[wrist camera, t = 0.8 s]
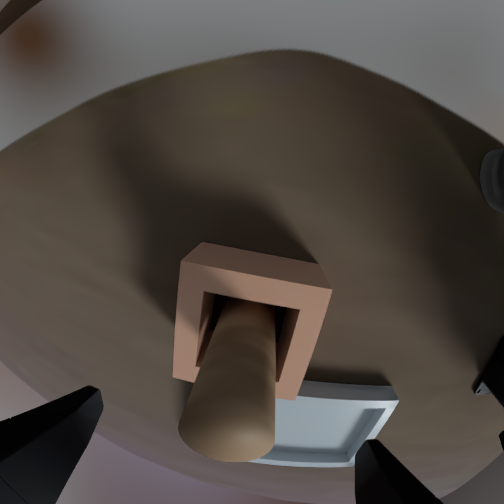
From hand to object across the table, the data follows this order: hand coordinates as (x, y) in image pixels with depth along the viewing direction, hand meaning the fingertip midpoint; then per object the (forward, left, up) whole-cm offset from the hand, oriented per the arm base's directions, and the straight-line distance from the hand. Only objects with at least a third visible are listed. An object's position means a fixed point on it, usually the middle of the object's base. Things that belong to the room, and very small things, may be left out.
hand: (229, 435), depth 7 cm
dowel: (0, 0, -10) cm, 10 cm away
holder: (0, 0, -10) cm, 10 cm away
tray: (-5, +9, -10) cm, 15 cm away
